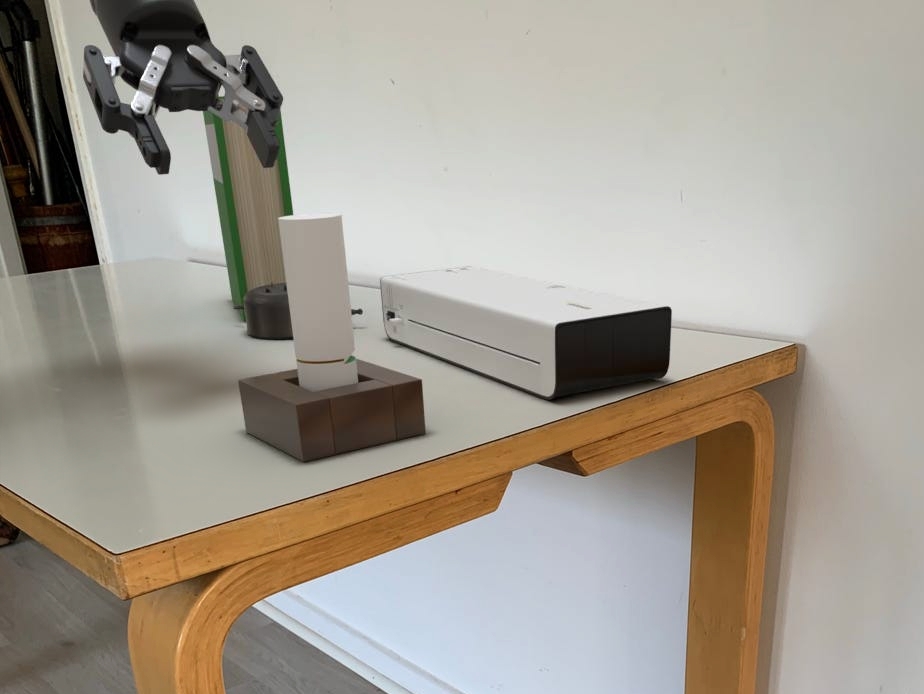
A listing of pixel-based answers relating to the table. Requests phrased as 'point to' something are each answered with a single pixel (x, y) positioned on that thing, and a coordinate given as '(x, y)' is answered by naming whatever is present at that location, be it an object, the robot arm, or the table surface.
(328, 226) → the tube
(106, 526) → the table surface
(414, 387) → the socket block
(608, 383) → the laminator
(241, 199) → the hardback book
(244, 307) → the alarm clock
